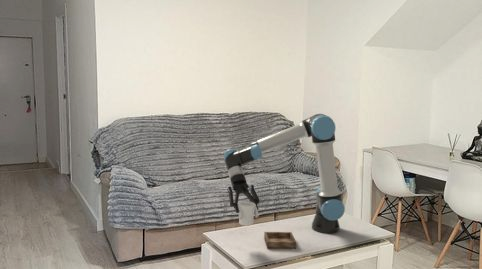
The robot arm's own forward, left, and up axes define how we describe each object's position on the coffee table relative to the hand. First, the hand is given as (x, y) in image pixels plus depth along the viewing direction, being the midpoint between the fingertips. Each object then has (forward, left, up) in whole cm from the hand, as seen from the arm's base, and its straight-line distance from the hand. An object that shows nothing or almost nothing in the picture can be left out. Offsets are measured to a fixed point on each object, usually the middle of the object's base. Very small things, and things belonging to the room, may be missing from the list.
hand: (249, 217), depth 208 cm
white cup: (+1, -3, -4) cm, 6 cm away
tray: (-16, -7, -15) cm, 23 cm away
